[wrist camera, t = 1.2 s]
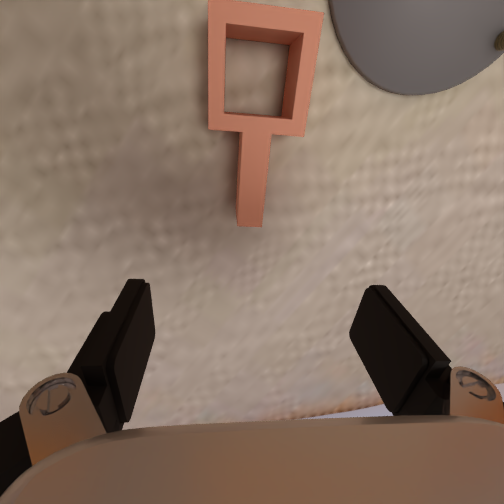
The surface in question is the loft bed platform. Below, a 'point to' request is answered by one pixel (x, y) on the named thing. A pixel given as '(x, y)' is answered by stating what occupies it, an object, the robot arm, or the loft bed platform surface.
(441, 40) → the post base
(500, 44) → the dowel pin
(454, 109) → the loft bed platform surface
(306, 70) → the orange square loop
